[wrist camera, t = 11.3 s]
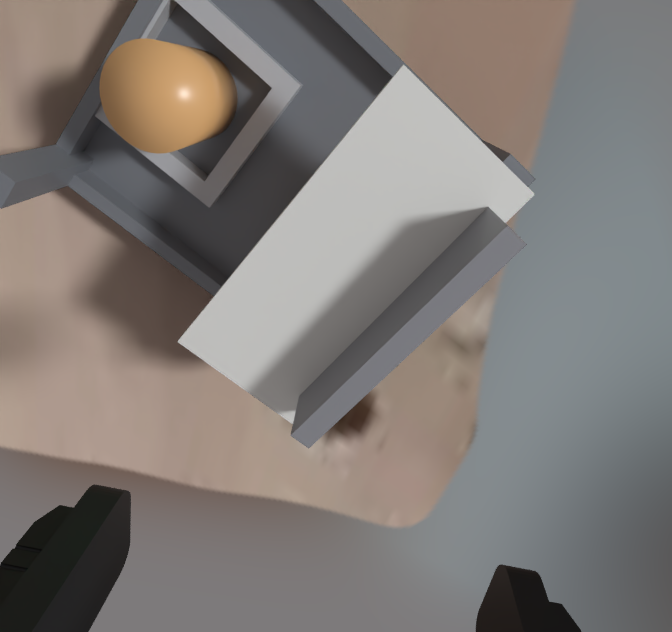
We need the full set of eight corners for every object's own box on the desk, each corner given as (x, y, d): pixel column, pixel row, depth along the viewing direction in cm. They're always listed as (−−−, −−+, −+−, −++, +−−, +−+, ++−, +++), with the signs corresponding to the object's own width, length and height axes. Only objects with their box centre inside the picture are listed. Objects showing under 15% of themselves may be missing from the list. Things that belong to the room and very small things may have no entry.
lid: (184, 332, 24) (152, 375, 21) (401, 65, 19) (410, 61, 15) (298, 414, 26) (287, 468, 22) (527, 189, 21) (561, 211, 17)
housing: (67, 160, 29) (-31, 185, 22) (226, -109, 24) (164, -192, 17) (308, 345, 34) (292, 418, 26) (491, 154, 28) (535, 179, 21)
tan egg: (138, 100, 27) (80, 105, 21) (183, 27, 25) (133, 12, 20) (207, 156, 28) (168, 174, 22) (254, 89, 26) (224, 91, 21)
